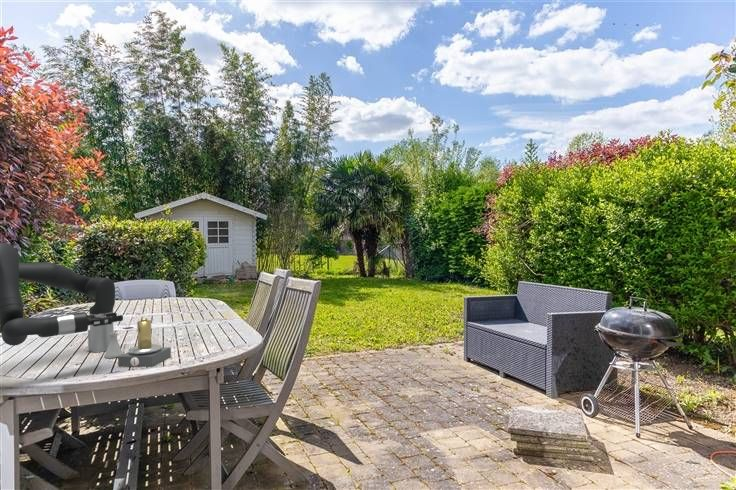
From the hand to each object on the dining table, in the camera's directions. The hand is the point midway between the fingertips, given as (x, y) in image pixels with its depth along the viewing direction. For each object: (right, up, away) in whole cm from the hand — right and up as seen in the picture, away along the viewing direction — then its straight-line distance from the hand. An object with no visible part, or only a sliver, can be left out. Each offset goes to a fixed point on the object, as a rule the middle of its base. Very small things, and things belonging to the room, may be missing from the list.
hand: (119, 316), depth 173 cm
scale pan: (+9, -14, +3) cm, 17 cm away
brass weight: (+9, -13, +3) cm, 16 cm away
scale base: (+9, -19, +3) cm, 21 cm away
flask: (-10, -20, +12) cm, 25 cm away
